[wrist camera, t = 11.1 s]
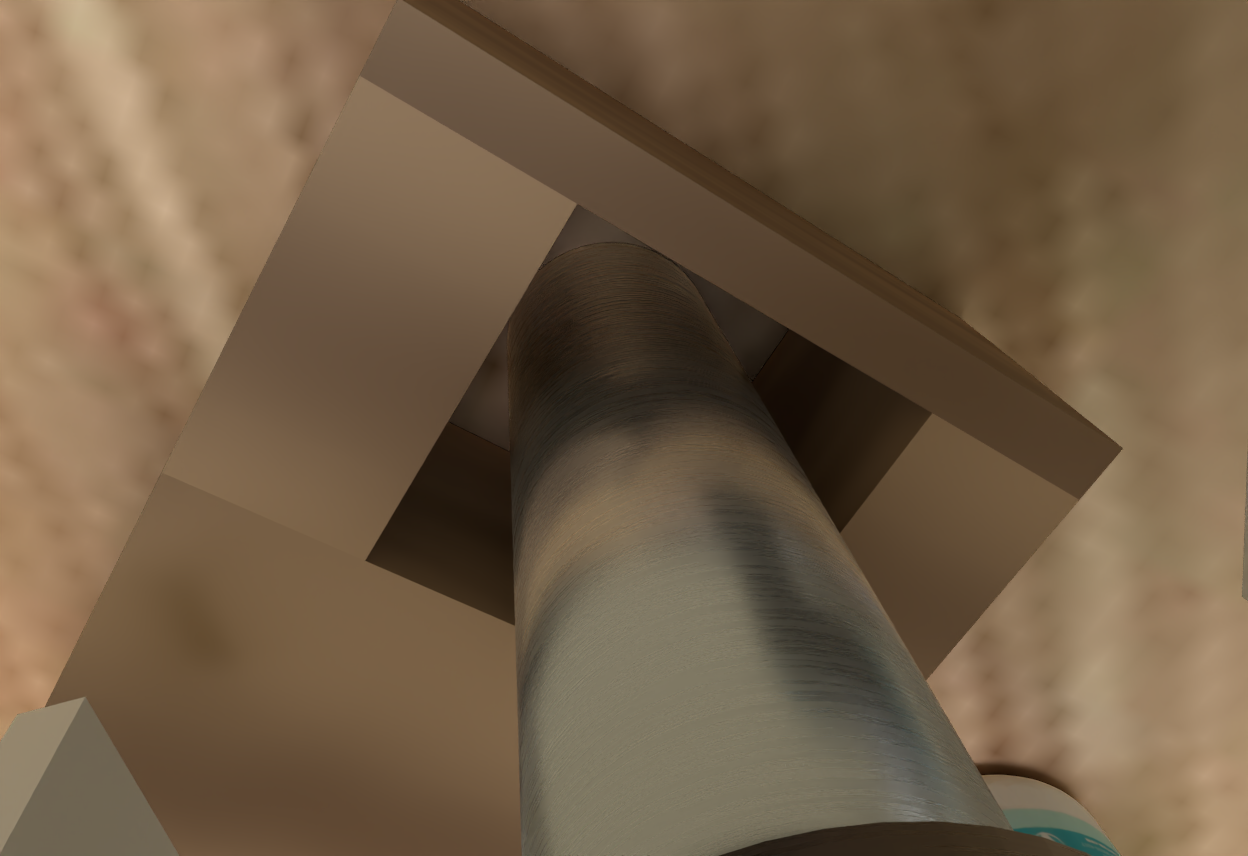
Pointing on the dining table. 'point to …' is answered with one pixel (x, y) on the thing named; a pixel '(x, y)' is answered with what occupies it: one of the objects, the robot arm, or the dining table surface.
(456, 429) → the block
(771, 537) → the steel pin
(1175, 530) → the dining table surface
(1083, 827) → the pill bottle
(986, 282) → the dining table surface
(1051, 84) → the dining table surface
